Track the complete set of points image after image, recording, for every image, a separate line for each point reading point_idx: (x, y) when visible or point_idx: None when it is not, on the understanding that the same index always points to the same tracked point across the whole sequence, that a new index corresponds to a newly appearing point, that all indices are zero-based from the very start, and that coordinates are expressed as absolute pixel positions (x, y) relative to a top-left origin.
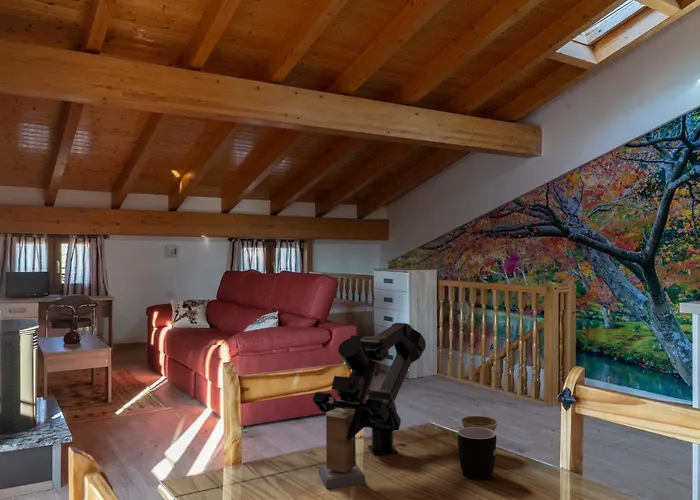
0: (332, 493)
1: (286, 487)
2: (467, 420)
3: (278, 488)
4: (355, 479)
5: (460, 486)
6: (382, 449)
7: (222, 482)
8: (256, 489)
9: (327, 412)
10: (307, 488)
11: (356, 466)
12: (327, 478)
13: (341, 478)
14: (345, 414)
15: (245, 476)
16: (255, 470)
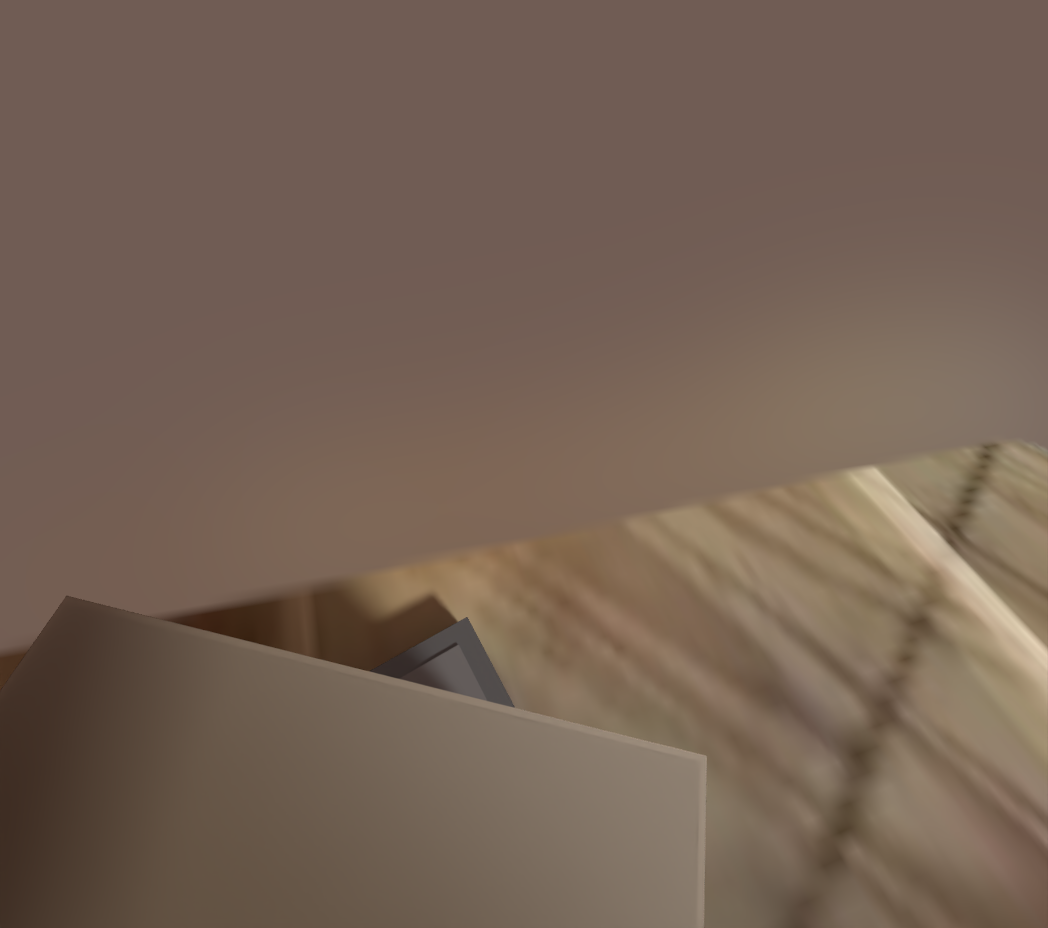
0: (414, 577)
1: (679, 594)
2: None
3: (708, 573)
4: None
5: None
6: None
7: (984, 579)
8: (793, 539)
9: (687, 824)
10: (569, 608)
11: None
12: (465, 637)
13: (371, 671)
14: (28, 747)
15: (963, 684)
16: (997, 801)
